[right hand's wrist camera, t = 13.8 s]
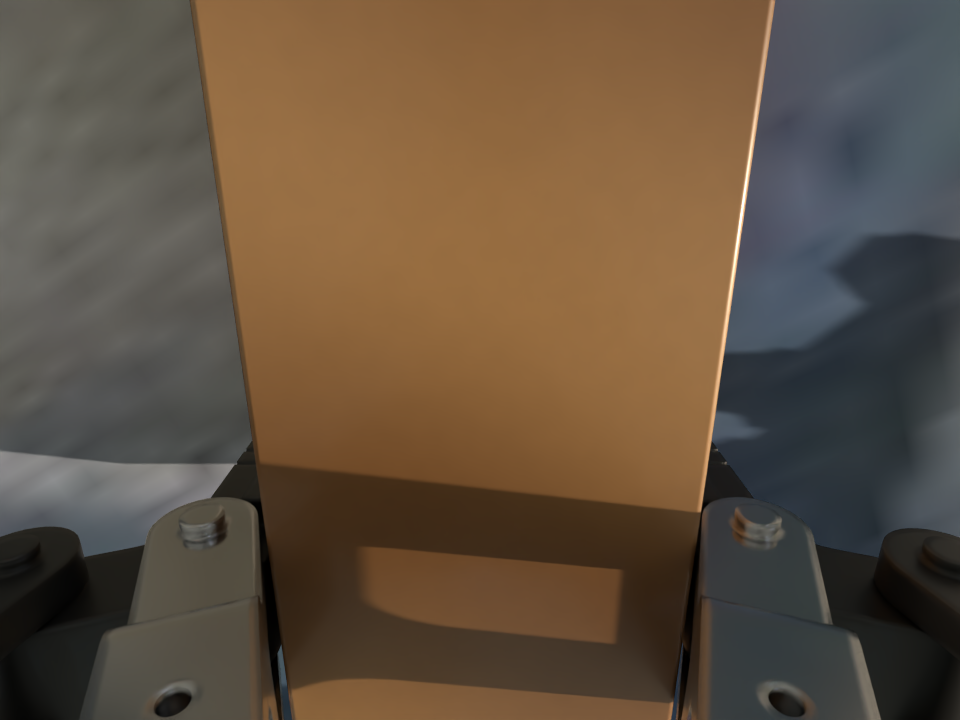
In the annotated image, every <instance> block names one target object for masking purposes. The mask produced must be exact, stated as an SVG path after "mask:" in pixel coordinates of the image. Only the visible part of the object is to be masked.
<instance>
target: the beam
mask: <svg viewBox="0 0 960 720" xmlns="http://www.w3.org/2000/svg"><path fill="white" fill-rule="evenodd" d="M774 4H775V0H190V5H191V12H192V19H193V26H194V33H195V40H196V47H197V54H198V61H199V68H200V75H201V82H202V89H203V96H204V103H205V110H206V117H207V125H208V132H209V139H210V146H211V153H212V160H213V167H214V174H215V181H216V188H217V195H218V202H219V209H220V216H221V223H222V230H223V237H224V244H225V251H226V258H227V265H228V272H229V279H230V286H231V293H232V300H233V307H234V314H235V321H236V328H237V335H238V342H239V349H240V356H241V363H242V370H243V377H244V384H245V391H246V398H247V405H248V413H249V420H250V427H251V434H252V441H253V448H254V455H255V462H256V469H257V476H258V483H259V490H260V497H261V504H262V511H263V518H264V525H265V532H266V539H267V546H268V553H269V560H270V567H271V574H272V581H273V588H274V595H275V602H276V609H277V616H278V623H279V630H280V637H281V644H282V651H283V658H284V665H285V672H286V679H287V686H288V693H289V701H290V708H291V715H292V720H671V716H672V709H673V702H674V695H675V688H676V681H677V674H678V667H679V661H680V654H681V647H682V640H683V633H684V626H685V619H686V612H687V605H688V598H689V591H690V585H691V578H692V571H693V564H694V557H695V550H696V543H697V536H698V529H699V522H700V515H701V508H702V502H703V495H704V488H705V481H706V474H707V467H708V460H709V453H710V446H711V439H712V432H713V426H714V419H715V412H716V405H717V398H718V391H719V384H720V377H721V370H722V363H723V356H724V350H725V343H726V336H727V329H728V322H729V315H730V308H731V301H732V294H733V287H734V280H735V274H736V267H737V260H738V253H739V246H740V239H741V232H742V225H743V218H744V211H745V204H746V198H747V191H748V184H749V177H750V170H751V163H752V156H753V149H754V142H755V135H756V128H757V121H758V115H759V108H760V101H761V94H762V87H763V80H764V73H765V66H766V59H767V52H768V45H769V39H770V32H771V25H772V18H773V11H774Z"/></svg>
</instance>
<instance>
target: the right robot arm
mask: <svg viewBox="0 0 960 720" xmlns="http://www.w3.org/2000/svg"><path fill="white" fill-rule="evenodd" d="M682 642H683V650H682V657H681V663H680V672H679V684H678V697H677V710H676V720H960V538H959V537H956V536H953V535H950V534H946V533H942V532H938V531H933V530H928V529H918V528H907V529H899V530H895V531H893V532H891V533H889V534H887V535H886V536H885V538H884V540H883V543H882V547H881V550H880V554H879V558H878V557H873V556H867V555H862V554H857V553H852V552H847V551H842V550H836V549H832V548H827V547H823V546H820V545H816V544H815V542H814V537H813V534H812V532H811V530H810V529H809V527H808V526H807V525H806V524H805V523H804V522H803V520H801V519H800V518H799V517H797V516H796V515H795V514H793V513H791V512H790V511H788V510H786V509H784V508H782V507H780V506H777V505H774V504H772V503H769V502H765V501H762V500H757V499H754V498H753V497H752V495H751V494H750V493H749V491H748V490H747V489H746V487H745V486H744V485H743V483H742V482H741V480H740V479H739V478H738V476H737V475H736V474H735V472H734V471H733V470H732V468H731V467H730V466H729V465H727V461H726V460H725V459H724V457H723V456H722V455H721V453H720V452H718V449H717V448H716V447H715V445H714V444H713V442H712V441H711V446H710V453H709V460H708V467H707V474H706V481H705V488H704V495H703V502H702V508H701V515H700V522H699V529H698V536H697V543H696V550H695V557H694V564H693V571H692V578H691V585H690V591H689V598H688V605H687V612H686V619H685V626H684V633H683V640H682ZM280 646H281V637H280V630H279V623H278V616H277V609H276V602H275V595H274V588H273V581H272V574H271V567H270V560H269V553H268V546H267V539H266V532H265V525H264V518H263V511H262V504H261V497H260V490H259V483H258V476H257V469H256V462H255V455H254V448H253V441H252V442H251V443H250V445H249V446H248V447H247V451H246V452H244V453H243V454H242V456H241V457H240V458H239V460H238V461H237V465H234V467H233V468H232V469H231V471H230V472H229V473H228V475H227V476H226V478H225V479H224V480H223V482H222V483H221V484H220V486H219V487H218V489H217V490H216V491H215V493H214V494H213V495H212V497H211V498H208V499H203V500H198V501H195V502H191V503H188V504H186V505H183V506H180V507H178V508H176V509H174V510H172V511H170V512H169V513H167V514H165V515H164V516H163V517H161V518H160V519H159V520H158V521H157V522H156V523H155V524H154V525H153V526H152V527H151V529H150V530H149V532H148V535H147V538H146V542H145V545H142V546H138V547H134V548H129V549H124V550H118V551H113V552H108V553H103V554H98V555H93V556H87V557H84V554H83V551H82V547H81V543H80V540H79V537H78V535H77V534H76V533H75V532H73V531H71V530H69V529H66V528H62V527H38V528H31V529H26V530H22V531H18V532H14V533H11V534H8V535H5V536H2V537H0V720H284V709H283V697H282V684H281V671H280V663H279V656H278V651H279V649H280Z"/></svg>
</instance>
